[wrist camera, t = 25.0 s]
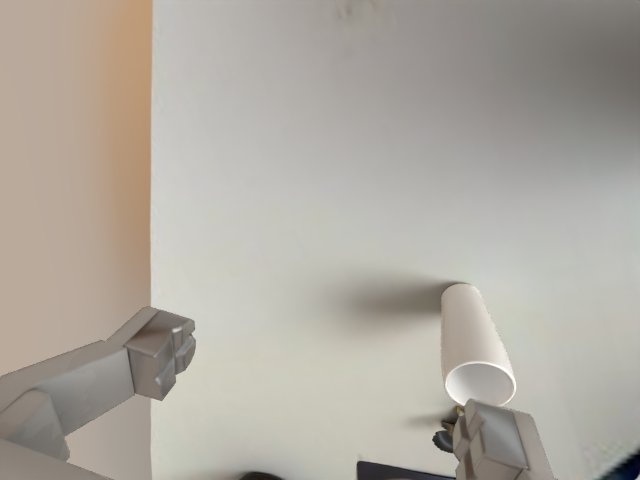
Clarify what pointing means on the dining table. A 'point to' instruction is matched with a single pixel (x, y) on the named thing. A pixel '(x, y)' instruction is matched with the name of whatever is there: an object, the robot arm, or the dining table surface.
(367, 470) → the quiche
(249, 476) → the amphora vase
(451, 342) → the drinking glass
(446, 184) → the dining table surface
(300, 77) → the dining table surface
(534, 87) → the dining table surface
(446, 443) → the eagle figurine
